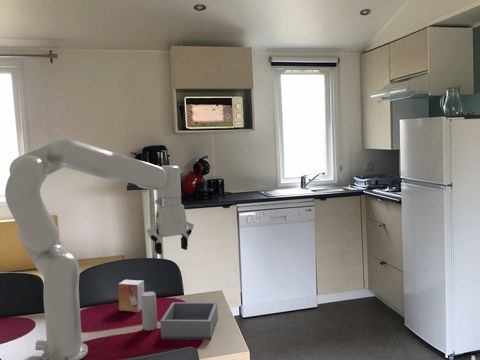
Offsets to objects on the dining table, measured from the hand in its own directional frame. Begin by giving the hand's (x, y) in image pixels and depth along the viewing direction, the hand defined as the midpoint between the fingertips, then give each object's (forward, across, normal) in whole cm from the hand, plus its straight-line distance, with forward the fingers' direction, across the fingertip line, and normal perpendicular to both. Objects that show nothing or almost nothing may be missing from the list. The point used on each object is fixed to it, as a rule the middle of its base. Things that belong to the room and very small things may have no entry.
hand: (171, 251), depth 145 cm
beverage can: (+25, -9, +1) cm, 27 cm away
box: (+25, +2, -8) cm, 26 cm away
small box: (+25, -6, +22) cm, 34 cm away
